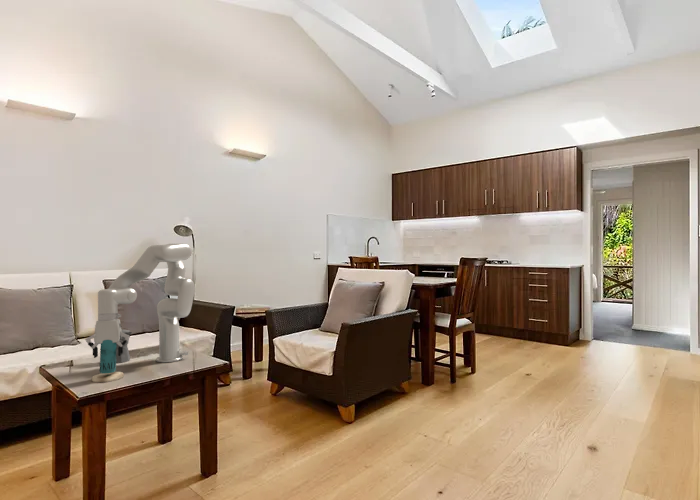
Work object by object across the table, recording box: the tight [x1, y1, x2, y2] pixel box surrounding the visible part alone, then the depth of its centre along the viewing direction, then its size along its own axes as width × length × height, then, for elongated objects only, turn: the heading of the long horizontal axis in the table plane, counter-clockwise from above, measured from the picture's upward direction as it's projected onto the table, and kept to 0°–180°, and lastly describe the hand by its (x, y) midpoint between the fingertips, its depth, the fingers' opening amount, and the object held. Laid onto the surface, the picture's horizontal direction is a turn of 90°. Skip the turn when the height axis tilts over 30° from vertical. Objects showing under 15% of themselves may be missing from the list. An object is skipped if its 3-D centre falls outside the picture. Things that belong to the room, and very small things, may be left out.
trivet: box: [91, 371, 125, 384], centre depth 182 cm, size 12×12×1 cm
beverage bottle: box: [98, 340, 117, 374], centre depth 183 cm, size 6×7×20 cm
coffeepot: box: [116, 325, 133, 364], centre depth 212 cm, size 15×9×18 cm, turn 82°
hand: (108, 356), depth 182 cm, fingers open, 9 cm apart
